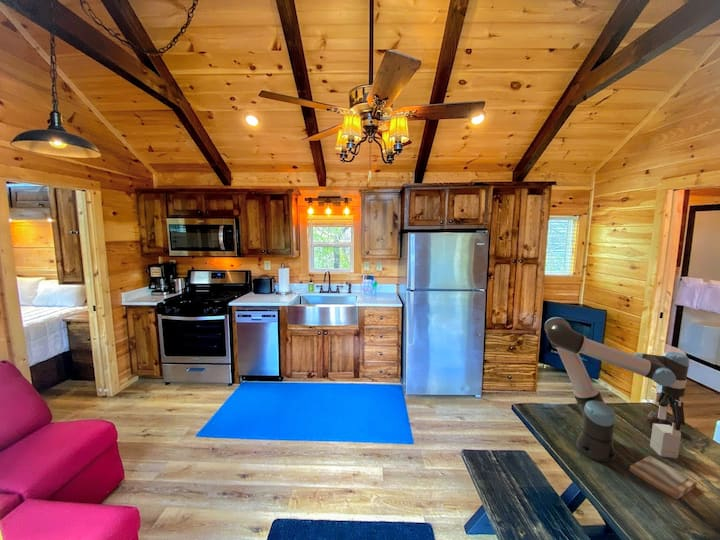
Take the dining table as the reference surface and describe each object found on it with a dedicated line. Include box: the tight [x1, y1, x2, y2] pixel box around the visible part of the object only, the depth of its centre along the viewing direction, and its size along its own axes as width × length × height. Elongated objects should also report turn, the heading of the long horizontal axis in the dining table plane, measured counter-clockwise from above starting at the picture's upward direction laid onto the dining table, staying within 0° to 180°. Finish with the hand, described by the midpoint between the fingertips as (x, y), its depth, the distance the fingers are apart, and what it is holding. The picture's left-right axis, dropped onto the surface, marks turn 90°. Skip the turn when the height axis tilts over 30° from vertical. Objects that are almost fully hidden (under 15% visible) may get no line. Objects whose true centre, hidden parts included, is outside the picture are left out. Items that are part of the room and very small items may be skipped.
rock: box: [644, 408, 674, 428], centre depth 167 cm, size 12×9×10 cm
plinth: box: [629, 455, 698, 500], centre depth 134 cm, size 16×16×3 cm
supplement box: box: [649, 423, 682, 459], centre depth 149 cm, size 7×7×13 cm
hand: (668, 426), depth 147 cm, fingers open, 13 cm apart
